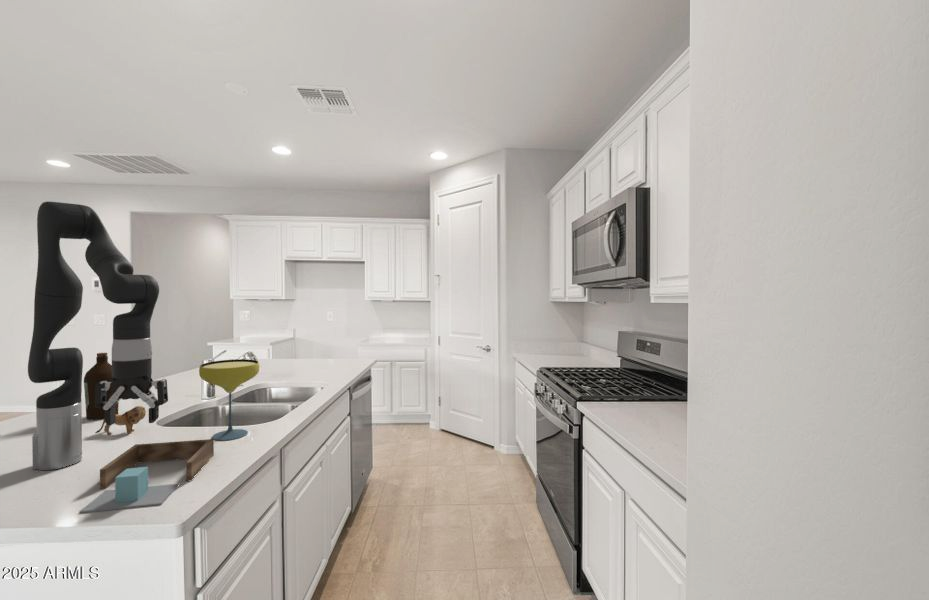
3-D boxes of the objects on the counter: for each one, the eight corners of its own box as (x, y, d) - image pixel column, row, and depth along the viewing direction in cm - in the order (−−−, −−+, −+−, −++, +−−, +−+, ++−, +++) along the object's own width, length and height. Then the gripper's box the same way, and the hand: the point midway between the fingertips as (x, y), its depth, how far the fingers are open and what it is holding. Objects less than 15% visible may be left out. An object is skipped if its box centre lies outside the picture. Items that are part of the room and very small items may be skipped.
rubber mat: (79, 513, 93) (79, 511, 93) (105, 492, 102) (105, 490, 102) (161, 504, 97) (161, 503, 97) (179, 485, 106) (178, 483, 106)
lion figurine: (148, 428, 148) (148, 403, 148) (142, 433, 143) (142, 407, 143) (99, 432, 144) (99, 406, 144) (90, 437, 139) (90, 410, 139)
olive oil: (121, 411, 168) (121, 350, 168) (118, 417, 160) (118, 353, 159) (86, 415, 162) (86, 352, 161) (81, 422, 153) (81, 356, 153)
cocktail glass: (216, 426, 151) (216, 359, 150) (267, 426, 152) (267, 359, 152) (187, 445, 133) (187, 368, 132) (245, 444, 134) (245, 368, 134)
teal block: (115, 502, 96) (115, 477, 96) (126, 492, 101) (126, 468, 101) (137, 500, 98) (137, 475, 97) (148, 490, 102) (148, 466, 102)
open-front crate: (99, 489, 104) (99, 469, 104) (135, 461, 120) (135, 444, 120) (191, 480, 109) (191, 462, 109) (213, 455, 125) (213, 439, 125)
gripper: (86, 360, 94) (87, 430, 94) (158, 358, 97) (158, 426, 98) (106, 355, 101) (106, 420, 102) (172, 353, 105) (172, 416, 105)
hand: (132, 423), depth 100 cm, fingers open, 8 cm apart
